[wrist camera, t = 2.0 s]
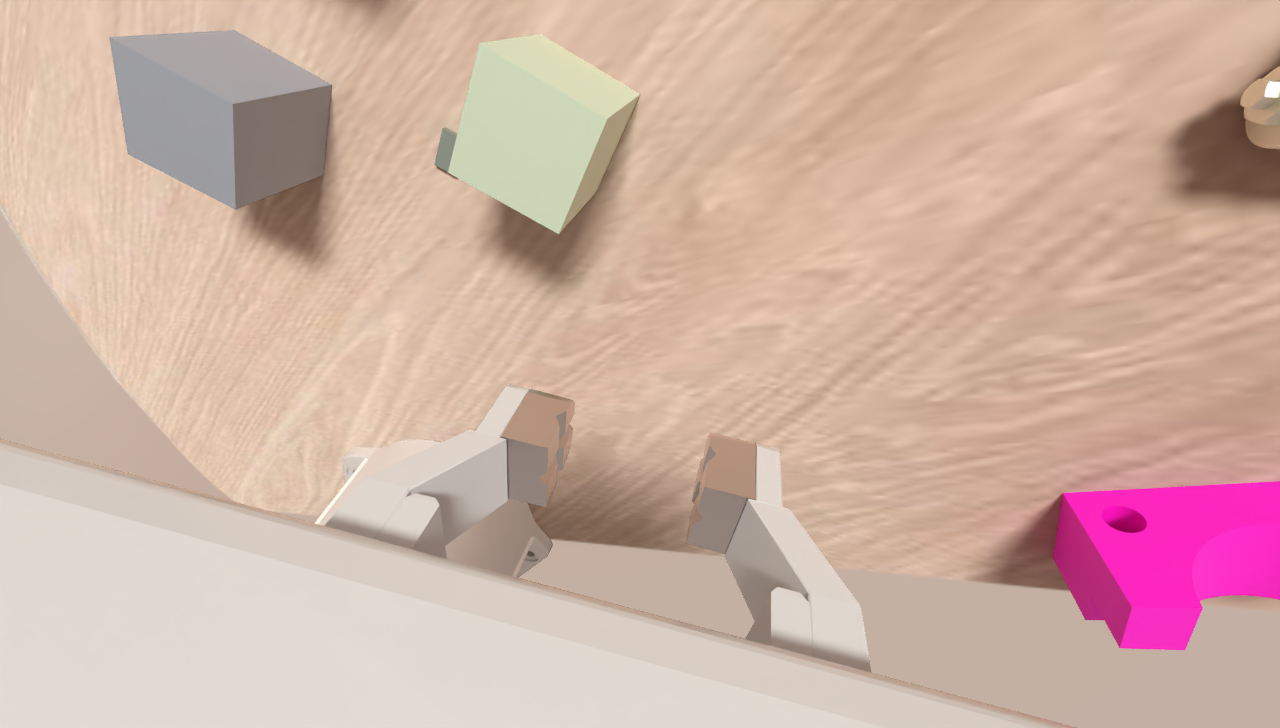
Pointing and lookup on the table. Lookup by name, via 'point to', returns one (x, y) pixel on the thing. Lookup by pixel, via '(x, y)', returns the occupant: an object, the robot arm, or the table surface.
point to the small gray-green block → (445, 149)
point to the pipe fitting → (1263, 111)
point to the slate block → (221, 113)
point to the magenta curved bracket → (1167, 555)
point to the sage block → (539, 128)
